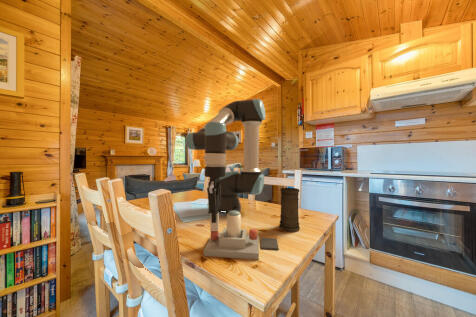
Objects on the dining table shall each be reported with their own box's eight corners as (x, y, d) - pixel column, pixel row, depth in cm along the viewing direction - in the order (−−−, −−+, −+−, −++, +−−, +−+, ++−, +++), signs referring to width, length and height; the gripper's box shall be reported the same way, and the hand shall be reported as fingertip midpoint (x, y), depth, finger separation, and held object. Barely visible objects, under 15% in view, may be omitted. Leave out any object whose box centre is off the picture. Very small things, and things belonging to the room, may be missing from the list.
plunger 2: (249, 236, 69) (249, 228, 69) (257, 236, 69) (257, 229, 69) (249, 239, 66) (249, 231, 66) (257, 240, 66) (257, 232, 66)
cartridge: (227, 238, 71) (228, 209, 71) (241, 239, 70) (241, 210, 70) (225, 244, 66) (225, 213, 66) (239, 245, 65) (240, 214, 65)
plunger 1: (211, 236, 70) (211, 229, 70) (219, 237, 70) (219, 229, 70) (209, 240, 68) (209, 232, 68) (217, 240, 67) (217, 232, 67)
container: (300, 232, 81) (301, 191, 81) (279, 231, 83) (280, 190, 83) (298, 225, 90) (299, 187, 90) (279, 223, 92) (279, 186, 91)
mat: (261, 238, 75) (261, 237, 75) (276, 239, 74) (276, 238, 74) (261, 248, 67) (261, 247, 67) (278, 250, 66) (278, 248, 66)
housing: (213, 237, 76) (213, 224, 76) (258, 239, 74) (258, 227, 74) (203, 255, 62) (203, 240, 62) (258, 259, 60) (258, 244, 60)
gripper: (209, 164, 75) (209, 223, 76) (199, 166, 62) (198, 237, 63) (228, 164, 74) (227, 224, 75) (221, 167, 61) (221, 238, 62)
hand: (214, 230), depth 69 cm, fingers closed
